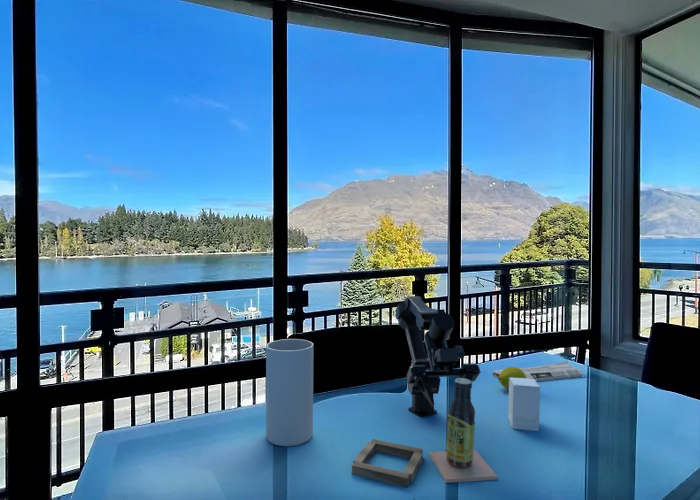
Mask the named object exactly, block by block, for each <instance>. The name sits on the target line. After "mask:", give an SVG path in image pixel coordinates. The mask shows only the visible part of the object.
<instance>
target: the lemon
mask: <svg viewBox="0 0 700 500" xmlns="http://www.w3.org/2000/svg"><path fill="white" fill-rule="evenodd" d="M502 370H503V369H502ZM509 378H526V376H525V374H524V372H523V371H522V370H521V369H519V367H515V366H514V367H512V366H509V367H506V368H504V370H503V371H502V372H501V373H500V375H499V377H497V379H498V381H499V382H498V383H500V385H501V386H502V387H503V388H505V389H506V390H508V391H509Z"/></svg>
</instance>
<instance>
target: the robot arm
mask: <svg viewBox="0 0 700 500" xmlns="http://www.w3.org/2000/svg"><path fill="white" fill-rule="evenodd" d="M395 319H396V320H397V322H398V326H399V327H401V329H403V330H404V331H405V335H406V339H407V343H408V347H409V353H410V356H411V359H412V364H411V365H410V366H409V368H408V371H407V374H406V380H407V390H408V392H409V393H410V395H411V398H412V399H411V401H412V402H411V405H412V406H410V407H408V408H407V409H408V411H410V412H412V413H414V414H415V415H417V416H419V417H421V418H423V417H426V416H430V415H434V414H436V413H438V410H436V409H435V399H434V395H435V394H436V395H438V394H439V391H440V386H441V378H445V377H447V378H449V377H458V378H465V379H469V380H470V381H472V383H473V382H475V381H476V380H477V378H478V377H479V376H480V374H481V369H480V366H479V364H477V363H476V362H475V363H473V362H472V363H463V364H462V366H461V367H460V368H454V367H455V366H456V365H457V364H456V363H457V362H459V359H460V360H461V359H464V358H465V351H464V350H465V349H464V347H463V345H455V346H453V347H451V348H450V347H448V344H447V340H448V339H449V338H450V336H451V333H452V331H453V330H454V327H455V325H456V321H455V318H454V317H453V316H452V315H451V314H449V313H448V312H446V311H445V308H443V309H442V308H441V309H437V308H430V307H429V306H428V305H427V304H426V302H424V301H423V299H422V297H421V296H419V295H418V296H416V295H415V296H412V295H411V296H406V297H405V299H404V300H403V301H402V302H400V303H398V304H397V307H396V309H395ZM421 331H426V332H425V333H424V335H423V337H422V334H421ZM424 344H425V346H424ZM425 348H426V350H425ZM426 352H427V353H426Z"/></svg>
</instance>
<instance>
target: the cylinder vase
mask: <svg viewBox="0 0 700 500" xmlns="http://www.w3.org/2000/svg"><path fill="white" fill-rule="evenodd" d="M265 349H266V350H265V352H266V354H265V358H266V359H265V361H266V364H265V369H266V371H265V372H266V373H265V376H266V377H265V382H266V383H265V384H266V385H265V386H266V387H265V396H266V397H265V399H266V400H265V412H266V413H265V415H266V416H265V431H266V432H265V436H266V439H267V441H268V442H269V443H271V444H273V445H275V446H279V447H295V446H299V445H302V444H304V443H306V442H308V441H310V439H311V438H312V436H313V434H314V343H313V342H312V341H309V340H307V339H299V338H285V339H278V340H272V341H270V342H268V343H266V347H265Z"/></svg>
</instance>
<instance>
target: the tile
mask: <svg viewBox="0 0 700 500" xmlns="http://www.w3.org/2000/svg"><path fill="white" fill-rule="evenodd" d="M428 453H429V457H430V459H431V461H432V462H433V464H434V466H435V467H436V469H437V471H438V472H439V474H440V476H441V477H442V480H443V481H444V483H445V484H447V483H448V484H450V483H463V482H464V483H465V482H478V481H493V480H498V475H497V473H495V471H494V470H493V469H492V468H491V466H490V465H489V464H488V463H487V462H486V460H485V459H484V457H482V455H480V453H479V451H477V449H474V450H473V460H472V464H471V465H470V466H469V467H465V468H458V467H455V466H453V465H451V464H449V463H448V461H447V459H446V457H447V456H446V450H445V451H443V450H442V451H439V450H438V451H429V452H428Z"/></svg>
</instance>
